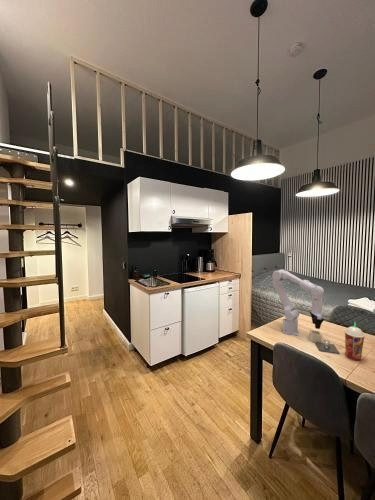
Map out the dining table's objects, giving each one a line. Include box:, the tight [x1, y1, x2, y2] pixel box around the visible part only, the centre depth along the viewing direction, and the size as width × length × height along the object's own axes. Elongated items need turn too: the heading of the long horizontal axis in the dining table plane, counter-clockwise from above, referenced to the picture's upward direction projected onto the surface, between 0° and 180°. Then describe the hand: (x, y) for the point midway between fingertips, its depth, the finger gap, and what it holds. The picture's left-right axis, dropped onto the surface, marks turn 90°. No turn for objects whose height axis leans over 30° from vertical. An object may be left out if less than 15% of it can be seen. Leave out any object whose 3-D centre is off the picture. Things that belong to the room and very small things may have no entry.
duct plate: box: [314, 339, 340, 355], centre depth 125 cm, size 10×10×4 cm
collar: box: [309, 329, 323, 343], centre depth 134 cm, size 6×6×5 cm
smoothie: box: [344, 321, 365, 361], centre depth 115 cm, size 8×8×20 cm
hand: (316, 326), depth 134 cm, fingers open, 7 cm apart
